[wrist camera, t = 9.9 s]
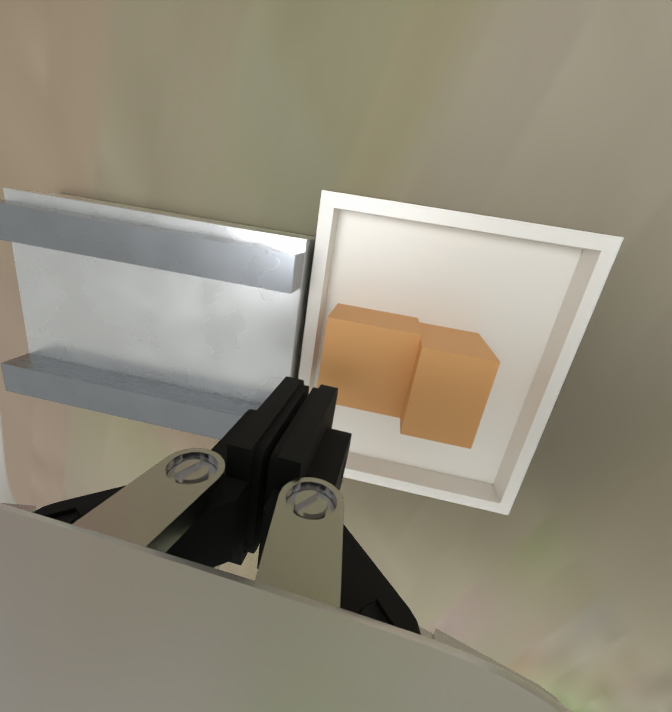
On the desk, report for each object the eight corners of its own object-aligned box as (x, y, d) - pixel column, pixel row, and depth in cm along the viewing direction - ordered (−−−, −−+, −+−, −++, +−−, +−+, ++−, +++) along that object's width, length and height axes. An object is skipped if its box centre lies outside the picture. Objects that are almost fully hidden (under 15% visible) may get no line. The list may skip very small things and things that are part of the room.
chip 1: (417, 317, 18) (421, 334, 15) (400, 390, 19) (400, 418, 16) (338, 303, 18) (327, 317, 15) (326, 375, 20) (315, 400, 17)
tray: (597, 236, 16) (623, 237, 14) (498, 489, 21) (508, 515, 19) (330, 193, 17) (321, 189, 15) (296, 443, 22) (287, 464, 20)
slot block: (320, 237, 18) (296, 241, 14) (297, 414, 21) (272, 460, 17) (60, 193, 19) (-35, 184, 15) (79, 367, 23) (7, 399, 18)
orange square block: (416, 321, 18) (478, 333, 18) (399, 393, 19) (456, 405, 19) (422, 346, 14) (500, 362, 14) (400, 433, 16) (471, 449, 15)
